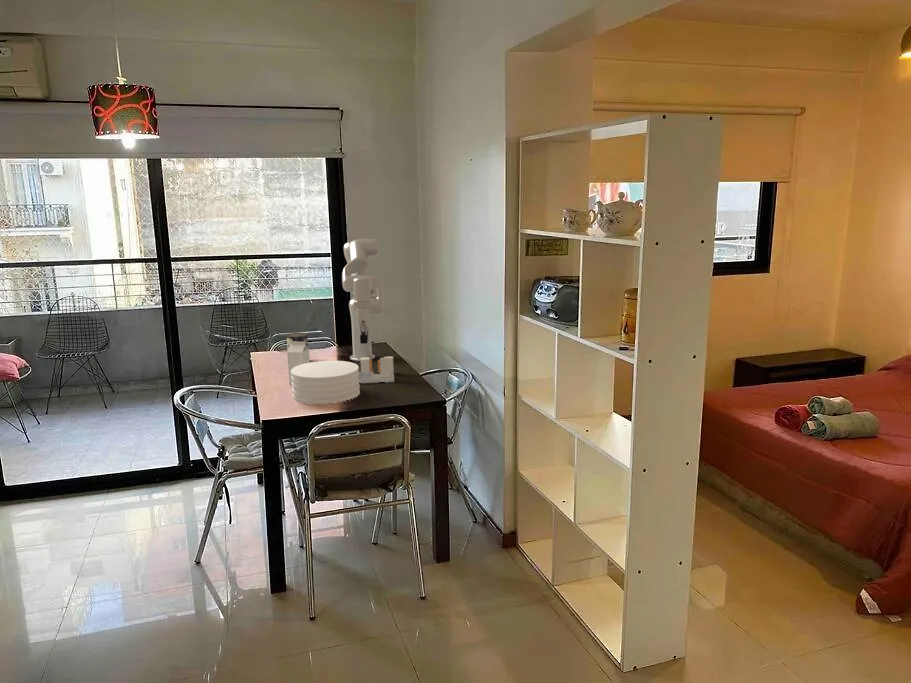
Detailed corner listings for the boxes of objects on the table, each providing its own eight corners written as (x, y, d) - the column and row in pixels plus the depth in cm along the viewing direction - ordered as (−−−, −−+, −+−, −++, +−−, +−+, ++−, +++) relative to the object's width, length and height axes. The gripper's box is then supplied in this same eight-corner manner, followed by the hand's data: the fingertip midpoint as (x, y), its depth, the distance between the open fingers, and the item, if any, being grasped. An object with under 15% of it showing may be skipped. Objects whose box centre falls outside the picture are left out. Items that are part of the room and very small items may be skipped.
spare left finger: (382, 373, 321) (382, 356, 319) (393, 372, 322) (392, 356, 320) (382, 375, 317) (382, 358, 315) (393, 375, 318) (393, 358, 316)
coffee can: (312, 360, 348) (311, 333, 345) (302, 365, 338) (300, 337, 335) (295, 358, 351) (293, 332, 348) (284, 363, 342) (282, 336, 339)
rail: (341, 379, 311) (339, 358, 308) (393, 377, 313) (393, 356, 311) (340, 384, 303) (339, 362, 301) (394, 382, 306) (393, 360, 304)
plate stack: (347, 382, 307) (346, 357, 304) (369, 398, 282) (368, 371, 280) (285, 391, 294) (283, 365, 292) (302, 409, 270) (300, 381, 268)
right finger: (361, 374, 320) (360, 357, 318) (372, 373, 321) (371, 357, 319) (361, 376, 316) (360, 359, 314) (372, 375, 317) (371, 359, 315)
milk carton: (304, 385, 302) (301, 343, 298) (289, 384, 304) (286, 343, 300) (310, 381, 309) (308, 340, 305) (296, 380, 310) (293, 339, 306)
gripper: (354, 301, 319) (356, 337, 323) (353, 307, 302) (355, 345, 306) (371, 301, 320) (372, 337, 323) (370, 307, 303) (372, 344, 307)
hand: (364, 341), depth 315 cm, fingers open, 9 cm apart
